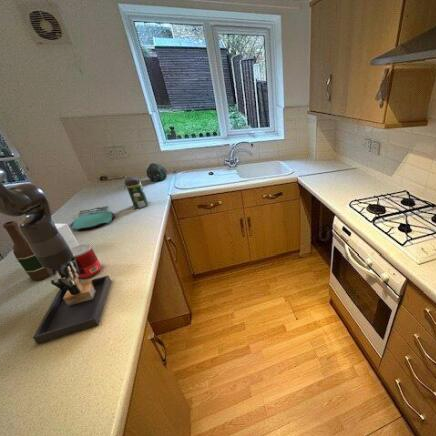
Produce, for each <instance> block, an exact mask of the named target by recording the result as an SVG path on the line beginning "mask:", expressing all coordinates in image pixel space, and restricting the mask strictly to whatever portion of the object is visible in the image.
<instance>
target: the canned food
mask: <svg viewBox="0 0 436 436" xmlns="http://www.w3.org/2000/svg"><path fill="white" fill-rule="evenodd" d="M70 250H71V251H72V253H73V257H75V259H76V262H77V266H78V269H79V273H77V274H78V278H80V279H89V278H91V277H94V276H96V275H97V274H99V273H100V272H101V271H102V265H101V262H100V260H99V258H98V256H97V255H96V252H95V251H94V249H93V247H92V246H91V245H90V244H88V243H87V244H86V243H85V244H79V246H76V247H74V248H72V249H70Z"/></svg>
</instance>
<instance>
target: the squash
mask: <svg viewBox="0 0 436 436" xmlns="http://www.w3.org/2000/svg"><path fill="white" fill-rule="evenodd" d="M146 176H147V178H148V179H149V180H150V181H152V182H159V181H163V180H166V179H167V177H168V172H167V169H166V168H165V167H164V166H163V165H161V164H158V163H154V162H153V163H150V164H149V165H148V167H147V169H146Z"/></svg>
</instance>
